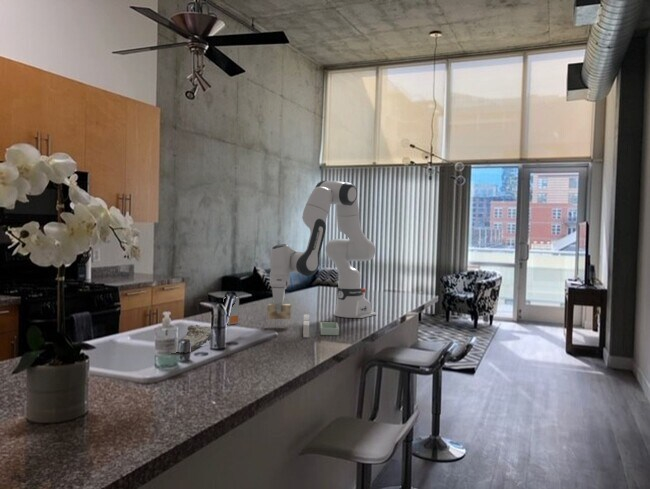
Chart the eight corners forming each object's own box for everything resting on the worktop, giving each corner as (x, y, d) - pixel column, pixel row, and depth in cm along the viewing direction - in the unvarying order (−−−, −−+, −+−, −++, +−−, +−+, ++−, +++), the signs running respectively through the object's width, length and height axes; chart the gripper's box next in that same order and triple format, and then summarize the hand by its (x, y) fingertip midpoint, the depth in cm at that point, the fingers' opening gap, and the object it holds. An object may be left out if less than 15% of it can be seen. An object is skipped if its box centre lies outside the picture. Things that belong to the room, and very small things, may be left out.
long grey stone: (166, 357, 180) (194, 360, 180) (166, 342, 180) (195, 345, 180) (194, 331, 215) (218, 333, 215) (195, 319, 215) (219, 321, 214)
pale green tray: (320, 328, 230) (320, 322, 230) (337, 328, 230) (337, 322, 230) (320, 334, 216) (320, 328, 216) (338, 335, 217) (339, 328, 217)
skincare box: (228, 325, 232) (229, 298, 232) (222, 323, 235) (223, 297, 234) (238, 323, 237) (239, 297, 236) (232, 322, 239) (233, 296, 239)
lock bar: (267, 318, 228) (267, 305, 228) (268, 316, 232) (268, 303, 232) (290, 319, 229) (290, 305, 228) (290, 317, 233) (290, 304, 232)
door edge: (303, 324, 237) (304, 313, 237) (309, 325, 237) (309, 313, 237) (303, 337, 211) (303, 324, 211) (309, 337, 211) (309, 324, 211)
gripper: (274, 278, 240) (273, 307, 241) (270, 283, 220) (270, 316, 220) (288, 278, 240) (287, 308, 241) (285, 283, 220) (285, 316, 220)
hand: (279, 312), depth 230 cm, fingers closed on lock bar, 4 cm apart
